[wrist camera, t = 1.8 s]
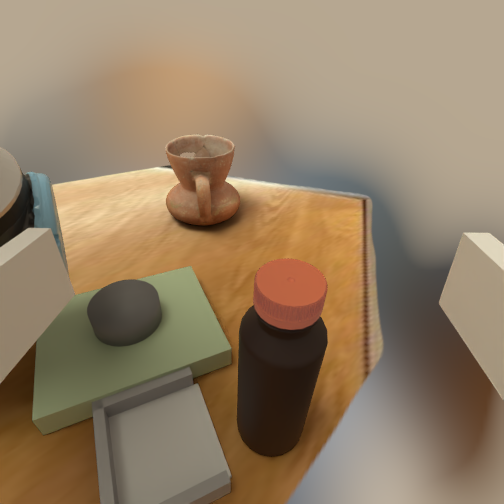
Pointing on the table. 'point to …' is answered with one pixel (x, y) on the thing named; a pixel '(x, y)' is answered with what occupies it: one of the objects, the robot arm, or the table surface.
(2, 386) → the table surface
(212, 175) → the ceramic jug
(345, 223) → the table surface
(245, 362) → the vinegar
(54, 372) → the green slab with knob
